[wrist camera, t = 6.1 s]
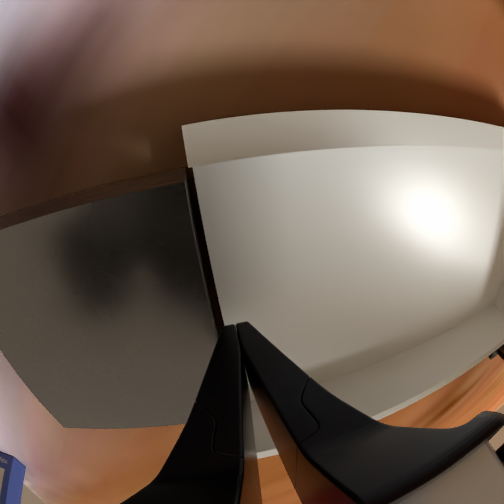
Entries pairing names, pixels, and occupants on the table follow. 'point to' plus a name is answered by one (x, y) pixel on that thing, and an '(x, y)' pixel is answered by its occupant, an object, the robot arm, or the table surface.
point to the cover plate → (108, 303)
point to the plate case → (357, 245)
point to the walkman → (11, 479)
